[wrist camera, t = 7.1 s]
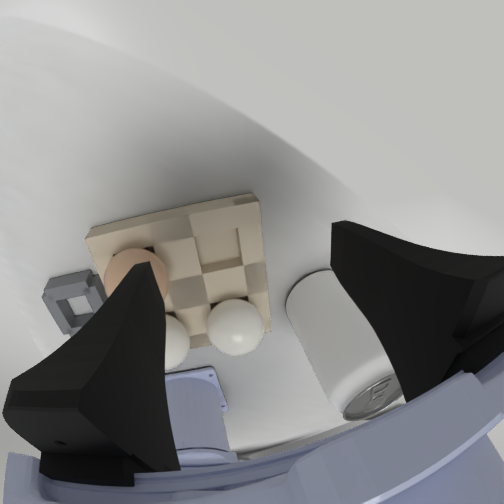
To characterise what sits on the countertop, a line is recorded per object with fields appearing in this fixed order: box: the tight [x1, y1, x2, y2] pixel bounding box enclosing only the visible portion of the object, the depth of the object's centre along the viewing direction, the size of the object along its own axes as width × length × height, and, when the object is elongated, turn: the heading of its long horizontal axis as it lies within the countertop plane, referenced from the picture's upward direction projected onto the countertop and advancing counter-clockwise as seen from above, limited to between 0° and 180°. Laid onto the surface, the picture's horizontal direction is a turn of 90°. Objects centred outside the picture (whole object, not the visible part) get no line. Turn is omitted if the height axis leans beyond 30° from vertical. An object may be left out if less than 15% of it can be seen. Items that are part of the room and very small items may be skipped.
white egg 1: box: [165, 315, 190, 370], centre depth 21 cm, size 4×4×4 cm
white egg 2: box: [206, 299, 264, 356], centre depth 22 cm, size 4×4×4 cm
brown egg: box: [104, 248, 169, 300], centre depth 18 cm, size 4×4×4 cm
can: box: [286, 270, 403, 421], centre depth 22 cm, size 6×6×12 cm
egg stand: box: [42, 270, 108, 337], centre depth 21 cm, size 5×5×2 cm
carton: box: [85, 193, 271, 349], centre depth 22 cm, size 12×12×2 cm
